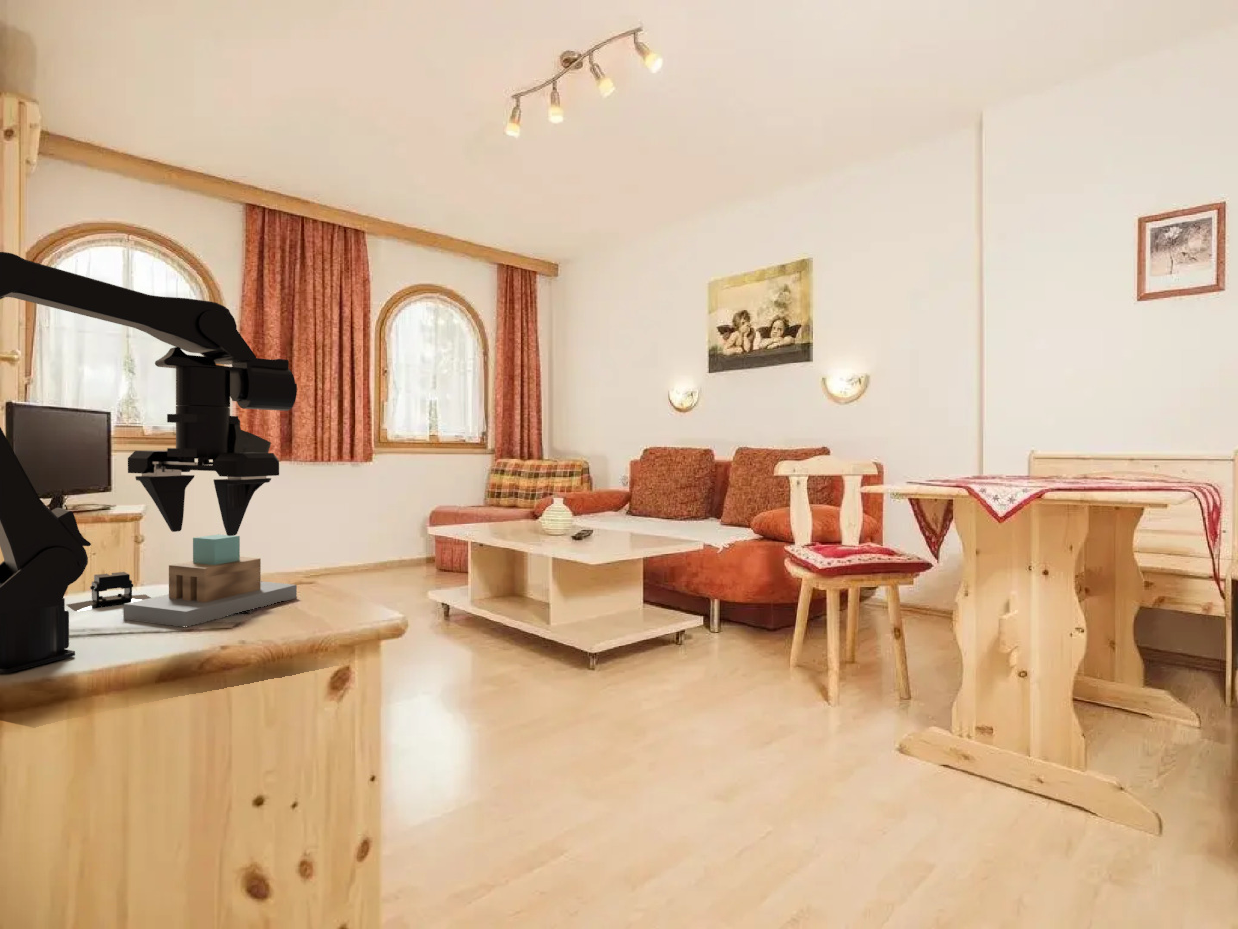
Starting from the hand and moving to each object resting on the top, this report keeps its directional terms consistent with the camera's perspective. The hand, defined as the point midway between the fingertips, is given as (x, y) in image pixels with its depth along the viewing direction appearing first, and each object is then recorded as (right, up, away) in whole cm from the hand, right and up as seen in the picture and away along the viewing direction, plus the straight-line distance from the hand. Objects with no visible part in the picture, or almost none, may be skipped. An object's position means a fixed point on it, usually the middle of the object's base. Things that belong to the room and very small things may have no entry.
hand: (203, 533), depth 84 cm
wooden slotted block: (-5, -10, +11) cm, 16 cm away
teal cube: (-5, -5, +11) cm, 14 cm away
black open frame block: (-22, -12, +14) cm, 29 cm away
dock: (-5, -12, +12) cm, 17 cm away
